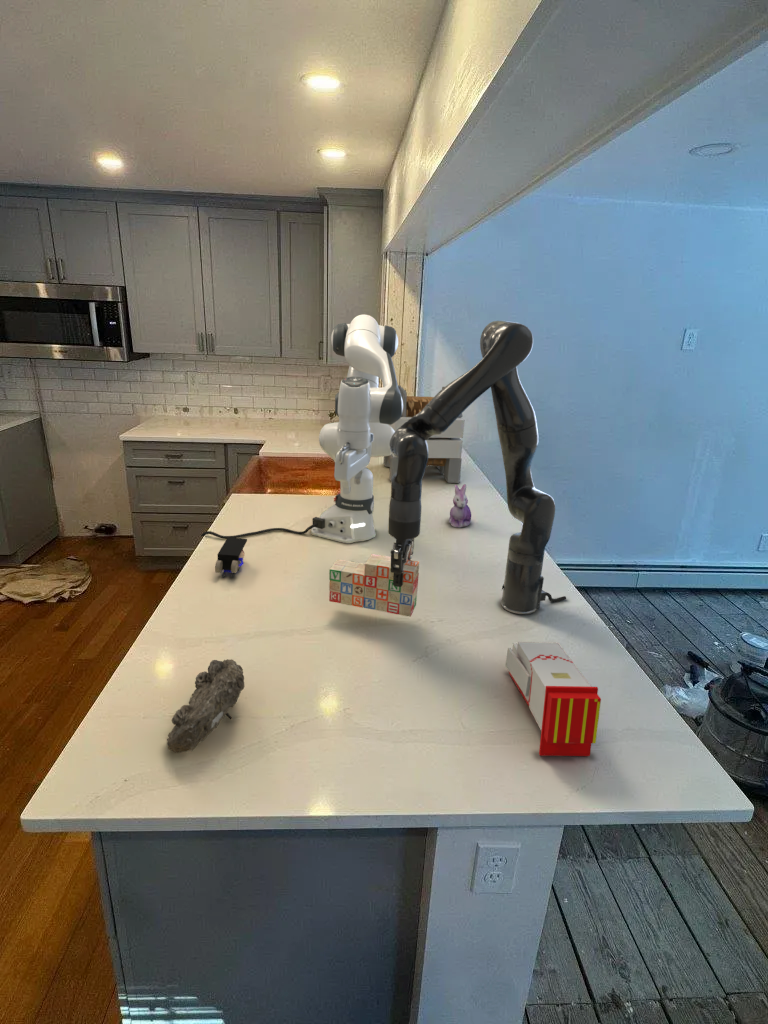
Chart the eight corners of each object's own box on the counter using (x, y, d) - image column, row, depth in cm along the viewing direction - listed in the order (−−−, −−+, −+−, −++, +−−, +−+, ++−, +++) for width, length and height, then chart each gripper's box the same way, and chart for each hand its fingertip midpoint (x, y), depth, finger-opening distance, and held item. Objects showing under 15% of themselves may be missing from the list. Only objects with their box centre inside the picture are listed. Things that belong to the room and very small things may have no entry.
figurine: (457, 529, 205) (460, 490, 200) (441, 520, 214) (444, 482, 209) (478, 526, 210) (482, 487, 205) (462, 517, 218) (465, 480, 213)
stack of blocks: (328, 602, 142) (328, 557, 138) (337, 591, 148) (337, 547, 144) (411, 617, 137) (414, 571, 133) (417, 604, 143) (419, 560, 138)
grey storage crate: (382, 463, 289) (386, 382, 275) (445, 464, 293) (451, 384, 279) (390, 482, 257) (394, 392, 243) (460, 483, 261) (468, 394, 247)
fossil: (192, 660, 117) (244, 628, 112) (224, 691, 120) (276, 661, 115) (142, 746, 98) (202, 712, 93) (182, 779, 101) (242, 748, 96)
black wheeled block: (238, 584, 162) (249, 557, 175) (236, 562, 158) (247, 536, 172) (215, 584, 161) (227, 556, 175) (212, 561, 158) (225, 535, 171)
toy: (554, 624, 127) (610, 694, 97) (548, 679, 130) (602, 763, 100) (500, 623, 126) (541, 693, 97) (496, 678, 129) (534, 763, 100)
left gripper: (352, 449, 142) (350, 501, 147) (375, 433, 161) (373, 480, 165) (328, 446, 144) (328, 498, 148) (354, 431, 162) (353, 477, 167)
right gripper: (413, 528, 125) (409, 595, 131) (426, 507, 138) (422, 570, 144) (380, 523, 127) (378, 590, 133) (397, 504, 140) (394, 565, 146)
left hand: (352, 488), depth 157 cm, fingers open, 8 cm apart
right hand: (401, 579), depth 138 cm, fingers closed on stack of blocks, 6 cm apart
